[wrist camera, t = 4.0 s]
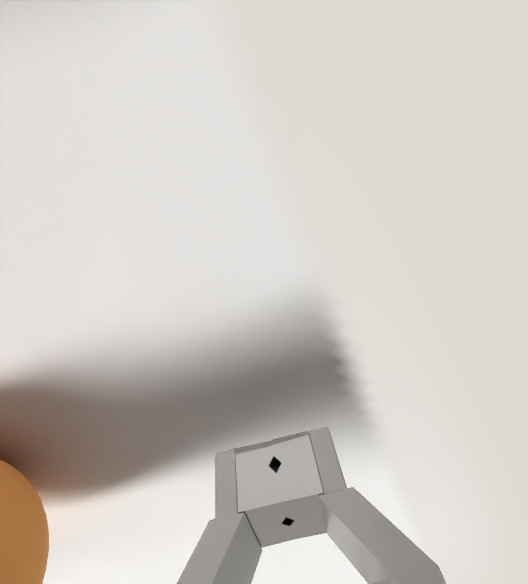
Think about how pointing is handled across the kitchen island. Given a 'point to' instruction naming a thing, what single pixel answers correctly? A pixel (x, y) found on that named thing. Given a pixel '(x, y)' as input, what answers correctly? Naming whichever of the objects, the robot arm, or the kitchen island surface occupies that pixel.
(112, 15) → the kitchen island surface
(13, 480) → the ball
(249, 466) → the robot arm
